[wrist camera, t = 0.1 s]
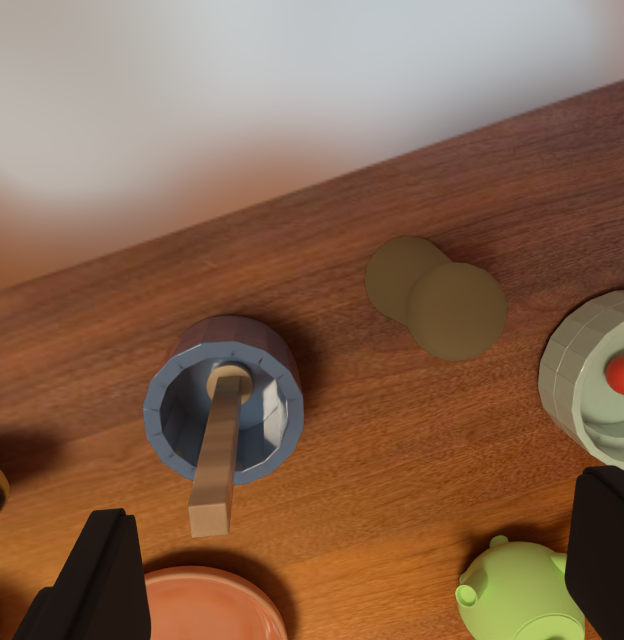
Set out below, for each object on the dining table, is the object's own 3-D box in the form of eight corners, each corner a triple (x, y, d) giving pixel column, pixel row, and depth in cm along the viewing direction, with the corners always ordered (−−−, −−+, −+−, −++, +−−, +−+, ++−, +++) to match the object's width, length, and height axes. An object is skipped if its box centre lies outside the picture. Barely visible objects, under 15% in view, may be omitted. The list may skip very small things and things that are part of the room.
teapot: (565, 608, 45) (632, 703, 37) (442, 636, 44) (482, 738, 36) (561, 503, 42) (634, 582, 34) (428, 532, 41) (469, 618, 33)
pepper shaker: (382, 333, 36) (432, 396, 26) (351, 257, 34) (390, 291, 24) (459, 299, 36) (541, 348, 25) (431, 221, 34) (507, 239, 24)
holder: (155, 319, 34) (133, 347, 29) (294, 311, 35) (300, 336, 29) (170, 444, 37) (153, 492, 31) (300, 433, 38) (306, 479, 32)
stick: (205, 362, 35) (165, 491, 20) (251, 359, 35) (243, 484, 21) (209, 404, 36) (173, 556, 21) (254, 401, 36) (249, 549, 22)
